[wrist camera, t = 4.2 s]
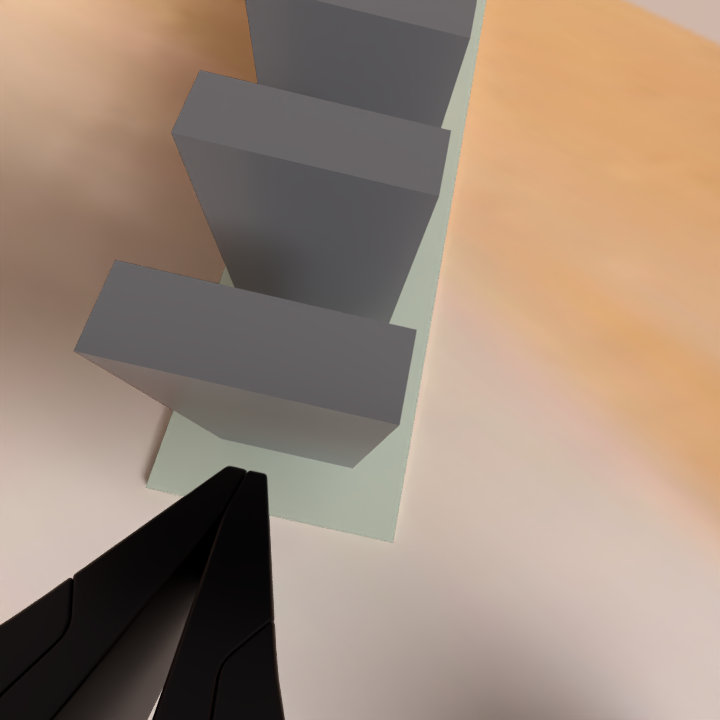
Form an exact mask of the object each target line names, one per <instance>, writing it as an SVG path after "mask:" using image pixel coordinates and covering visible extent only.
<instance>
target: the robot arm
mask: <svg viewBox="0 0 720 720" xmlns="http://www.w3.org/2000/svg"><path fill="white" fill-rule="evenodd" d="M162 689H163V690H162ZM161 691H162V693H161ZM160 693H161V696H160V699H159V701H158V704H157V707H156V710H155V713H154V716H153V719H152V720H285V717H284V710H283V704H282V697H281V690H280V684H279V676H278V664H277V652H276V636H275V624H274V600H273V580H272V560H271V540H270V520H269V500H268V480H267V475H266V474H265V473H260V472H256V471H252V470H250V471H248V472H247V471H246V470H245V469H243V468H238V467H234V466H227V467H225V468H223V469H222V470H221V471H219V472H218V473H216V474H215V475H213V476H212V477H211V478H209V479H208V480H206V481H205V482H204V483H202V484H201V485H199V486H198V487H197V488H195V489H194V490H192V491H191V492H190V493H188V494H187V495H185V496H184V497H183V498H181V499H180V500H178V501H177V502H176V503H174V504H173V505H171V506H170V507H168V508H167V509H166V510H164V511H163V512H161V513H160V514H159V515H157V516H156V517H154V518H153V519H152V520H150V521H149V522H147V523H146V524H145V525H143V526H142V527H140V528H139V529H138V530H136V531H135V532H133V533H132V534H131V535H129V536H128V537H126V538H125V539H123V540H122V541H121V542H119V543H118V544H116V545H115V546H114V547H112V548H111V549H109V550H108V551H107V552H105V553H104V554H102V555H101V556H100V557H98V558H97V559H95V560H94V561H93V562H91V563H90V564H88V565H87V566H86V567H84V568H83V569H81V570H80V571H79V572H77V573H76V574H74V576H73V579H72V578H68V579H67V580H66V581H64V582H63V583H61V584H60V585H59V586H57V587H56V588H54V589H53V590H51V591H50V592H49V593H47V594H46V595H44V596H43V597H41V598H40V599H38V600H37V601H35V602H34V603H33V604H31V605H30V606H28V607H27V608H25V609H24V610H22V611H21V612H19V613H18V614H16V615H15V616H13V617H12V618H10V619H9V620H7V621H6V622H4V623H3V624H1V625H0V720H147V719H148V717H149V715H150V713H151V711H152V709H153V707H154V705H155V703H156V701H157V699H158V697H159V695H160Z"/></svg>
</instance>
